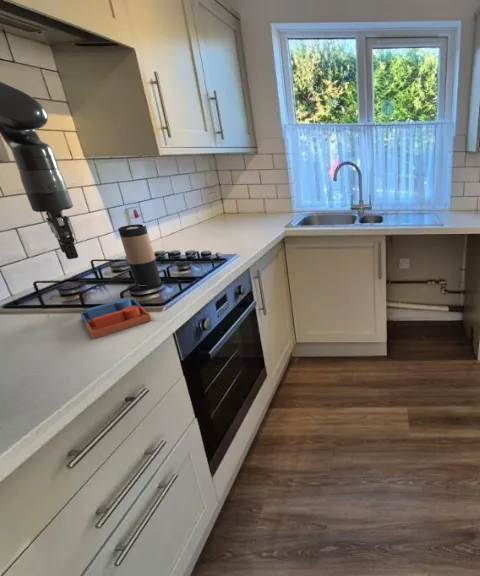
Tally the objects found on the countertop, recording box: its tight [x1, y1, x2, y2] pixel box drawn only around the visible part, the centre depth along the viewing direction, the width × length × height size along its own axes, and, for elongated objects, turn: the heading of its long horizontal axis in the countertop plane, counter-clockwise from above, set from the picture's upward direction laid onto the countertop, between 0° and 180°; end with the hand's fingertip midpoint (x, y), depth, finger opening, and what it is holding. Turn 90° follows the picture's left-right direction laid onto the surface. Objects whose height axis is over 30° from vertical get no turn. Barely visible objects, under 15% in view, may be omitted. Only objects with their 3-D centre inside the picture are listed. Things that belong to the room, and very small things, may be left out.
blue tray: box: [80, 298, 142, 328], centre depth 102 cm, size 13×8×2 cm, turn 136°
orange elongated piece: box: [92, 306, 141, 329], centre depth 96 cm, size 10×4×3 cm, turn 136°
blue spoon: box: [85, 297, 132, 320], centre depth 101 cm, size 10×4×3 cm, turn 136°
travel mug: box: [117, 223, 162, 290], centre depth 119 cm, size 8×8×20 cm
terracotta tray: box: [85, 305, 152, 339], centre depth 96 cm, size 13×8×2 cm, turn 136°
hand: (70, 255), depth 92 cm, fingers open, 8 cm apart
